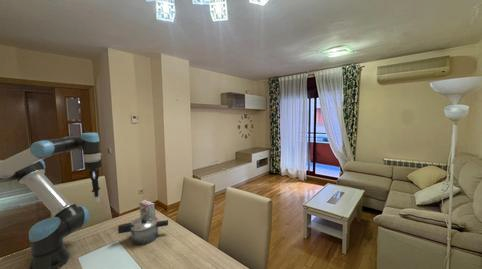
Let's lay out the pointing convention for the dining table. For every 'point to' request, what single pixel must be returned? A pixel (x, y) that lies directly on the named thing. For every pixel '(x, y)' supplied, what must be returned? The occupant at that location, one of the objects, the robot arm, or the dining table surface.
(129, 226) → the lid
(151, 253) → the dining table surface
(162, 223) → the pot
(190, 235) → the dining table surface
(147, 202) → the candy bar box
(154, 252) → the dining table surface
